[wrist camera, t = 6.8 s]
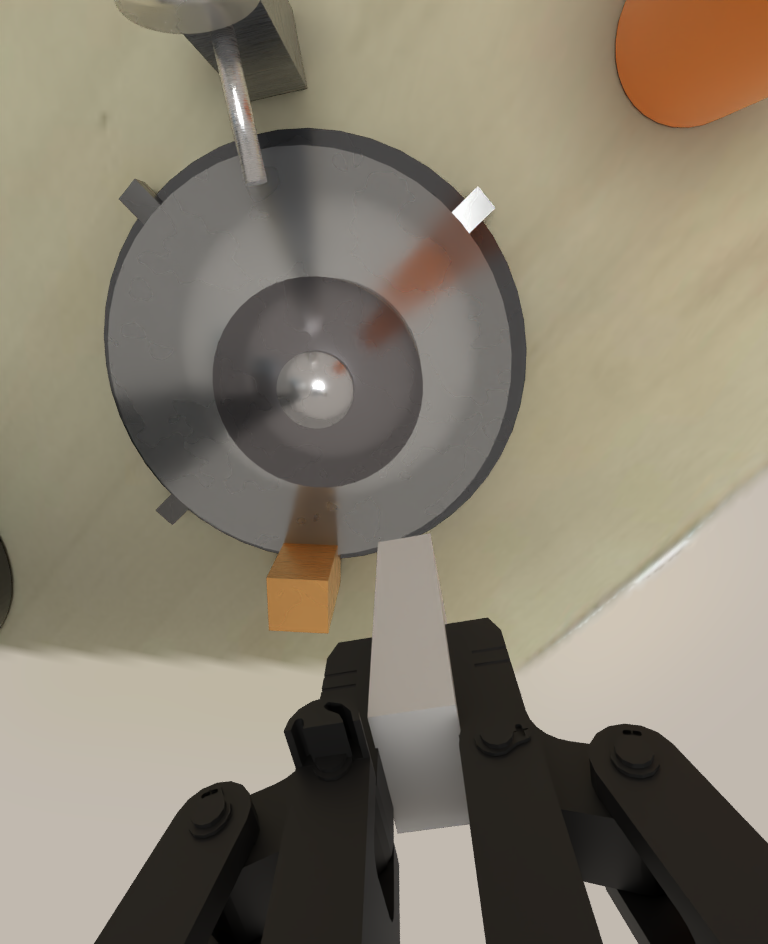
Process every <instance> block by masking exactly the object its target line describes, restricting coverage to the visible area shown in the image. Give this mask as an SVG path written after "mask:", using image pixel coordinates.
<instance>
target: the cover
mask: <svg viewBox="0 0 768 944" xmlns="http://www.w3.org/2000/svg"><path fill="white" fill-rule="evenodd" d="M213 391H214V398H215V402H216V406H217V410H218V412H219V415H220V417H221V420H222V423H223V424H224V426H225V428H226V430H227V432H228V434H229V435H230V437H231V438H232V440H233V441H234V442H235V444H236V445H237V446H238V448H239V449H240V450H241V451H242V452H243V453H244V454H245V455H246V456H247V457H248V458H249V459H250V460H251V461H253V462H254V463H255V464H256V465H257V466H259V467H260V468H262V469H263V470H265V471H266V472H268V473H270V474H272V475H274V476H276V477H277V478H280V479H282V480H285V481H288V482H290V483H294V484H298V485H302V486H309V487H337V486H343V485H347V484H351V483H355V482H357V481H360V480H362V479H365V478H367V477H369V476H371V475H373V474H374V473H376V472H378V471H379V470H381V469H382V468H383V467H385V466H386V465H387V464H389V463H390V462H391V461H392V460H393V459H394V458H395V457H396V456H397V455H398V453H399V452H400V451H401V450H402V448H403V447H404V446H405V445H406V443H407V441H408V439H409V438H410V436H411V434H412V433H413V430H414V428H415V425H416V423H417V421H418V417H419V413H420V410H421V404H422V397H423V377H422V369H421V362H420V354H419V351H418V347H417V343H416V341H415V338H414V336H413V333H412V331H411V329H410V327H409V326H408V324H407V322H406V320H405V319H404V318H403V316H402V315H401V314H400V312H399V311H398V310H397V309H396V308H395V307H394V306H393V305H392V304H391V303H390V302H389V301H388V300H387V299H385V298H384V297H383V296H381V295H380V294H379V293H377V292H375V291H374V290H372V289H370V288H368V287H366V286H364V285H361V284H359V283H357V282H353V281H349V280H345V279H339V278H330V277H319V276H310V277H298V278H292V279H287V280H284V281H281V282H278V283H275V284H273V285H271V286H268V287H266V288H264V289H262V290H261V291H259V292H258V293H256V294H255V295H253V296H252V297H250V298H249V299H248V300H247V301H246V302H245V303H244V304H243V305H242V306H240V307H239V309H238V310H237V311H236V312H235V314H234V315H233V316H232V317H231V319H230V320H229V322H228V324H227V325H226V327H225V328H224V330H223V333H222V335H221V337H220V339H219V342H218V345H217V349H216V352H215V356H214V363H213Z"/></svg>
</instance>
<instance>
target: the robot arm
mask: <svg viewBox="0 0 768 944" xmlns="http://www.w3.org/2000/svg"><path fill="white" fill-rule="evenodd" d="M10 600H11V574H10V569H9V564H8V560H7V557H6V554H5V551H4V549H3V546H2V544H1V542H0V627H1V625H2V624H3V622H4V620H5V618H6V615H7V613H8V609H9V606H10ZM324 676H325V678H324V680H323V686H322V693H321V697H320V699H319V700H315V701H312V702H310V703H309V704H307V705H305V706H304V707H302V708H300V709H299V710H298V711H297V712H296V713H295V714H294V715H293V716H292V717H291V718H290V719H289V721H288V723H287V725H286V728H285V730H284V733H285V736H286V739H287V743H288V746H289V749H290V752H291V755H292V758H293V761H294V764H295V767H296V770H295V772H293V773H292V774H291V775H290V776H288V777H287V778H286V779H284V780H282V781H280V782H278V783H276V784H275V785H272V786H270V787H267V788H265V789H263V790H261V791H258V792H256V793H254V794H251V795H250V794H249V792H248V791H247V790H246V789H245V787H244V786H243V785H241V784H238V783H235V782H232V781H230V782H220V783H216V784H213V785H211V786H209V787H206V788H204V789H202V790H200V791H199V792H198V793H196V794H195V795H194V796H192V797H191V798H190V799H189V800H188V801H187V802H186V803H185V804H184V806H183V807H182V808H181V809H180V810H179V812H178V813H177V814H176V816H175V817H174V819H173V820H172V822H171V824H170V825H169V827H168V829H167V830H166V831H165V833H164V835H163V836H162V838H161V839H160V841H159V842H158V844H157V846H156V847H155V849H154V850H153V852H152V853H151V855H150V857H149V858H148V860H147V861H146V863H145V864H144V866H143V868H142V869H141V871H140V872H139V874H138V875H137V877H136V879H135V880H134V882H133V883H132V885H131V886H130V888H129V890H128V891H127V893H126V894H125V896H124V897H123V899H122V901H121V902H120V904H119V905H118V907H117V908H116V910H115V912H114V913H113V915H112V916H111V918H110V920H109V921H108V923H107V924H106V926H105V927H104V929H103V930H102V932H101V934H100V935H99V937H98V938H97V940H96V941H95V943H94V944H400V920H399V919H400V914H399V863H398V858H397V853H396V850H395V845H394V840H393V839H394V836H393V835H394V834H393V832H394V829H393V825H394V824H393V820H394V821H395V825H396V829H397V832H398V833H404V832H413V831H421V830H428V829H436V828H444V827H452V826H459V825H467V824H470V829H471V837H472V844H473V851H474V858H475V865H476V873H477V881H478V888H479V895H480V902H481V910H482V917H483V924H484V931H485V938H486V944H603V943H602V939H601V936H600V933H599V930H598V926H597V923H596V920H595V917H594V914H593V911H592V908H591V904H590V901H589V898H588V895H587V892H586V888H585V885H584V882H589V883H593V884H597V885H602V886H605V887H606V890H607V892H608V894H609V895H610V897H611V898H612V900H613V902H614V904H615V905H616V907H617V909H618V910H619V912H620V914H621V915H622V917H623V919H624V920H625V922H626V923H627V925H628V927H629V929H630V930H631V932H632V934H633V935H634V937H635V939H636V940H637V942H638V944H768V843H767V842H766V841H765V840H764V839H763V838H762V837H761V836H760V835H759V834H758V833H757V832H756V831H755V830H754V828H753V827H752V826H751V825H750V824H749V823H748V822H747V821H746V820H745V819H744V818H743V817H742V816H741V815H740V814H739V813H738V812H737V811H736V810H735V809H734V808H733V806H731V805H730V803H729V802H728V801H727V800H726V799H725V798H724V797H723V796H722V795H721V794H720V793H719V792H718V791H717V790H716V789H715V788H714V787H713V786H712V784H711V783H710V782H709V781H708V780H707V779H706V778H705V777H704V776H703V775H702V774H701V773H700V772H699V771H698V770H697V769H696V768H695V767H694V766H693V765H692V764H691V762H690V761H689V760H688V759H687V758H686V757H685V756H684V755H683V754H682V753H681V752H680V751H679V750H678V749H677V748H676V747H675V746H674V745H673V744H672V743H671V742H670V741H669V740H667V739H666V738H664V737H663V736H662V735H661V734H659V733H658V732H656V731H653V730H651V729H648V728H645V727H643V726H638V725H630V724H620V725H614V726H609V727H607V728H605V729H603V730H602V731H600V732H598V733H597V734H596V735H595V737H594V738H593V740H592V741H591V743H590V744H586V743H579V742H571V741H566V740H561V739H557V738H555V737H553V736H550V735H548V734H546V733H544V732H543V731H542V730H540V729H539V728H537V727H536V726H535V725H534V723H533V722H532V721H531V720H530V718H529V716H528V714H527V712H526V710H525V707H524V703H523V700H522V697H521V694H520V690H519V687H518V684H517V681H516V677H515V674H514V671H513V668H512V664H511V662H510V658H509V655H508V652H507V649H506V645H505V642H504V639H503V635H502V632H501V630H500V629H499V628H498V627H497V626H496V625H495V624H494V623H493V622H492V621H491V620H490V619H489V618H482V619H476V620H469V621H463V622H457V623H451V624H447V619H446V613H445V608H444V603H443V598H442V592H441V587H440V582H439V576H438V571H437V566H436V560H435V555H434V550H433V545H432V539H431V534H430V533H429V534H424V535H418V536H412V537H406V538H400V539H395V540H389V541H383V542H378V551H377V567H376V584H375V601H374V617H373V634H372V638H366V639H359V640H353V641H347V642H340V643H338V644H337V646H336V647H335V648H334V650H333V651H332V653H331V654H330V655H329V657H328V658H327V663H326V669H325V674H324ZM583 881H584V882H583Z"/></svg>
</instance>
